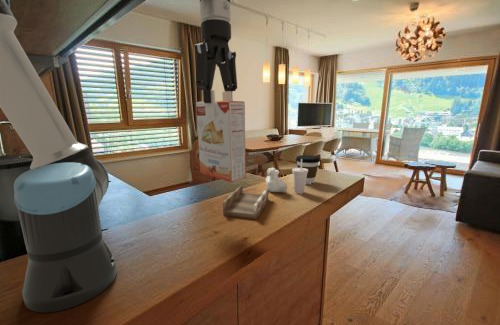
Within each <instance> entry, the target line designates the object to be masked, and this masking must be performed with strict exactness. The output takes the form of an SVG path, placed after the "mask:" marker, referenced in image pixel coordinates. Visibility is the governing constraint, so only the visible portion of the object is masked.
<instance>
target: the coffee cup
mask: <svg viewBox="0 0 500 325" xmlns="http://www.w3.org/2000/svg"><path fill="white" fill-rule="evenodd" d="M301 159H302V168H305V169H308V173H307V178H306V184H305V185H311V184H310V183H313V184H314V182H315V180H316V176H317V172H318V168H319V163H320V162H321V159H320V157H319V156H318V155H312V154H300V155H297V156H296V158H295V161H296V168H301Z"/></svg>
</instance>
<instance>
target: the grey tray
mask: <svg viewBox="0 0 500 325" xmlns="http://www.w3.org/2000/svg"><path fill="white" fill-rule="evenodd" d="M243 187H244V186H243V185H239V186H238V187H237V188H236V189H235V190H234V191H233V192H232V193H231V194H229V195H228V197H227V198H225V199H224V200H223V202H222V215H223V216H225V217H234V218H242V219H249V220H257V219H258V217H260V214H261V212H262V210H263V209H264V208H265V206H266V204H267V202H268V201H269V194H270V191H269V190H268V188H267V187H266V188H265V189H264V190H263V191H262V193H261V194H258V193H257V194H256V193H249V192H248V193H247V192H243V191H244V190H243Z"/></svg>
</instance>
